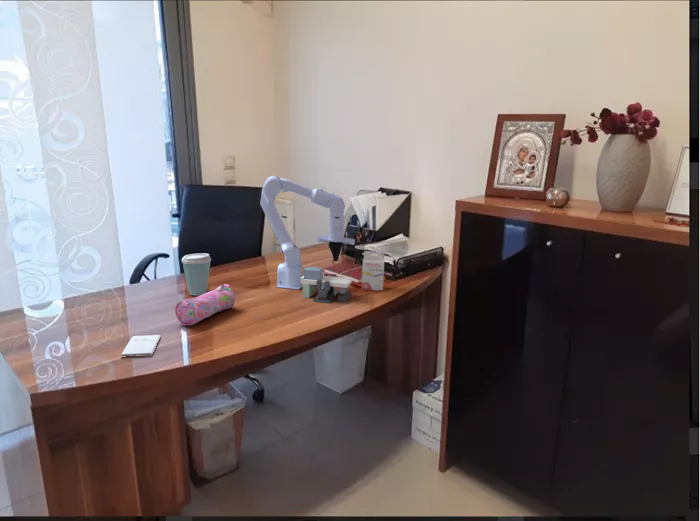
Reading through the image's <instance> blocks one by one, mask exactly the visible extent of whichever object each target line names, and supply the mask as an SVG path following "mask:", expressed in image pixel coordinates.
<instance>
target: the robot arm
mask: <svg viewBox="0 0 700 521" xmlns="http://www.w3.org/2000/svg"><path fill="white" fill-rule="evenodd" d="M281 190H282V193H287V192H293V193H295V194H297V195H302V196H304V197H306V198H309V199H310V202H311V203H312V204H316V205H318V206H320V207H323V208H326V209H328V208H329V215H328V218H329V222H328V223H329V224H328V228H329V229H328V230H329V231H328V235H327V236H322V235H321V236H318V237H317V243H328V246H327V247H328V248H329V250H330V252H331V255H332V258H333V259H332V260H333V261H334V262H338V261H339V260H340V259H339V258H340V254H341V251H342V249H343V248H344V247H343V246H345V245H352V246H354V245H355V243H356V242H355V238H349V237H344V234H345V233H344V232H345V230H344V229H345V228H344V227H345V215H344V214H345V211H344V210H345V208H346V204H345V201H344V199H343V198H342V197H341V196H340V195H338V194H335V193H333V192H331V193H330V192H327V191H325V190H324V188H322V187H320V188H314V189H311V188H308V187H306V186H304V185H302V184H300V183H297V182H294V181H293V180H290V179H287V178H284V177H279V176H277V175H271V176H269V177H267V178H266V180H265V182H264V184H263V186H262V189H261V197H260V201H259V202H260V207H261V208H262V211H263V212H264V215H265V217H266V218H267V220H268V223H269V224H270V226H271V229H272V230H273V232H274V235H275V236H276V238H277V241H278V242H279V245H280V248H281V250H282V253H283V254H284V262H283V263H282V262H281V263H279V265H278V266H277V274H276V276H277V279H276V281H277V282H276V283H277V285H276V288H283V289H289V290H290V289H293V290H300V289H302V288H303V283H301V277H303V262H302V261H301V260H302V256H301V255H302V254H301V253H302V252H301V249H300V248H299V247H298V246H297V245H296V244H295V242H294V240H293V239H292V238H291V235H290V234H289V231H288V230H287V228H286V226H285V223H284V221H283V220H282V217H281V216H280V214H279V212H278V210H277V208H276V205H275V201H276V197H277V196H278V195H279V193H280V192H281ZM344 244H345V245H344Z"/></svg>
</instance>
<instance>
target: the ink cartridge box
mask: <svg viewBox="0 0 700 521" xmlns="http://www.w3.org/2000/svg"><path fill="white" fill-rule="evenodd" d="M361 267H362V269H361V270H362V271H361V290H364V291H365V290H368V291H379V290H381V292H382V291H383V290H384V288H383V287H384V277H385V276H384V275H385V252H383V251H370V250H369V251H367V250H365V251H364V252H363V259H362V266H361Z"/></svg>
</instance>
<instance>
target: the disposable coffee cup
mask: <svg viewBox="0 0 700 521" xmlns="http://www.w3.org/2000/svg"><path fill="white" fill-rule="evenodd" d="M211 261H212V257H211V256H210V254H209V253H205V252H204V253H201V252H200V253H191V254H185V255H184V256H183V257H182V258H181V263H182V266H183V267H182V268H183V272H184V277H185V281H186V282H185V283H186V285H187V290H188V293H189V295H190V296H195V297H198V296H200V295H203V294H205V293H207V292H208V288H209V286H208V285H209V277H210V268H211Z"/></svg>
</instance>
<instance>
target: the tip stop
mask: <svg viewBox="0 0 700 521" xmlns="http://www.w3.org/2000/svg"><path fill="white" fill-rule="evenodd" d="M351 296H352V291H351V290H347V292H346V293H345V294H343V293H339V295H337V302H340V303H346V302H348V300H349V299H350V298H351Z"/></svg>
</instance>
